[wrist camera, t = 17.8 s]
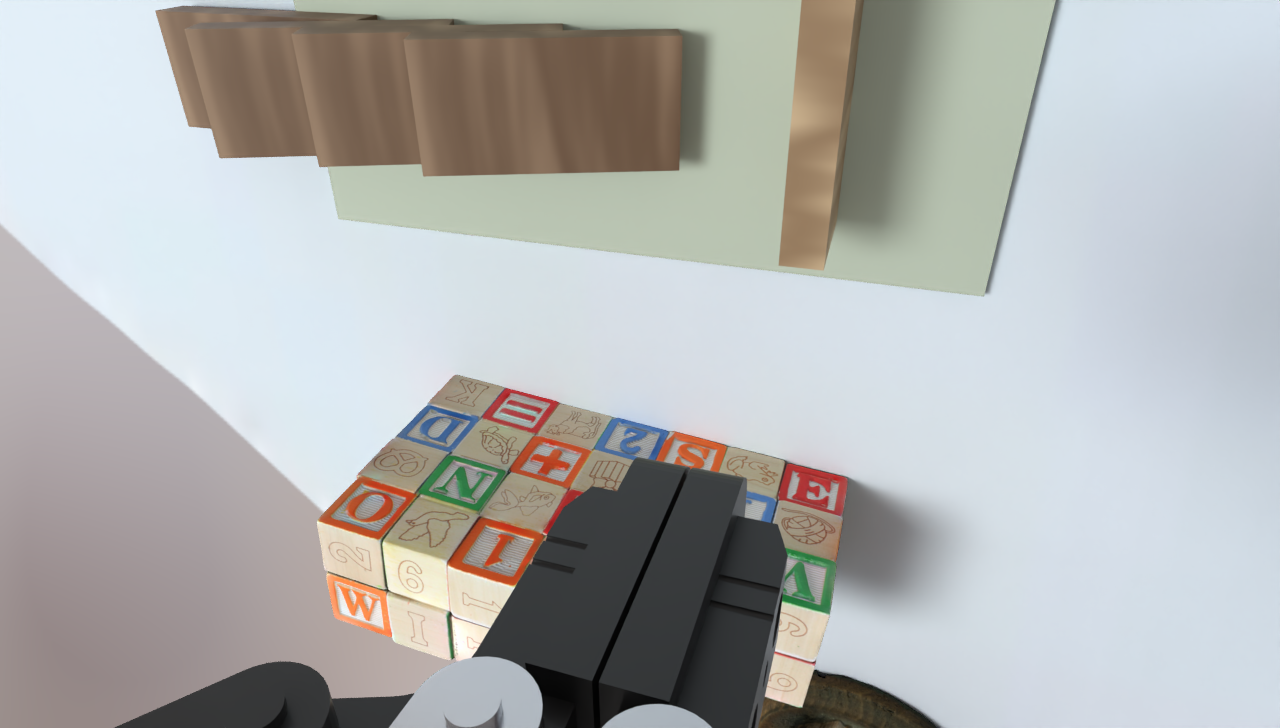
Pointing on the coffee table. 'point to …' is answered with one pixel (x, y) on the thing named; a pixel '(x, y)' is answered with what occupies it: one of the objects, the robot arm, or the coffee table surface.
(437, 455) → the stack of blocks
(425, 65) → the domino
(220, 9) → the domino
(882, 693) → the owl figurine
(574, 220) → the mat
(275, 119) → the domino
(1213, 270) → the coffee table surface
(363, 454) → the coffee table surface
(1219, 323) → the coffee table surface
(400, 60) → the domino
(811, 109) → the domino
